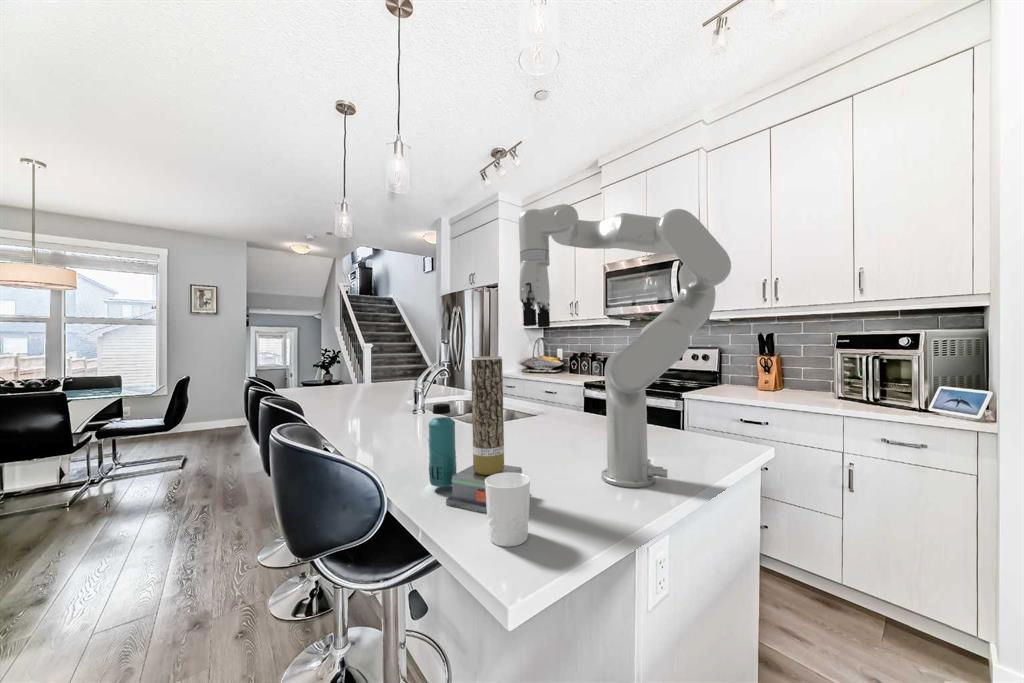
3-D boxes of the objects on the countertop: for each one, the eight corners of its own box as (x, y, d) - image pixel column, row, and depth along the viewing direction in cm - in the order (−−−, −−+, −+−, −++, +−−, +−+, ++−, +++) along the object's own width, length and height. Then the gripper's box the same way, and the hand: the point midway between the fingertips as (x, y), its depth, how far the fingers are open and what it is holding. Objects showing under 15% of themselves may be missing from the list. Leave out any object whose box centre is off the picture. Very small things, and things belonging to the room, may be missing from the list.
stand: (527, 493, 87) (527, 466, 87) (499, 516, 76) (499, 485, 76) (478, 485, 93) (478, 460, 93) (446, 505, 82) (445, 476, 82)
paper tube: (510, 468, 86) (507, 356, 86) (493, 478, 80) (491, 357, 81) (484, 464, 89) (482, 356, 90) (467, 473, 84) (464, 357, 84)
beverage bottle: (460, 483, 94) (458, 401, 95) (453, 494, 88) (451, 405, 88) (433, 483, 95) (432, 401, 95) (425, 493, 88) (423, 405, 89)
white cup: (476, 537, 67) (475, 480, 68) (509, 522, 73) (508, 469, 73) (508, 554, 62) (506, 491, 62) (540, 536, 67) (539, 479, 67)
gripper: (533, 267, 109) (536, 328, 109) (507, 255, 93) (509, 326, 93) (559, 264, 106) (561, 326, 105) (536, 250, 90) (538, 324, 90)
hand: (537, 326), depth 99 cm, fingers open, 9 cm apart
